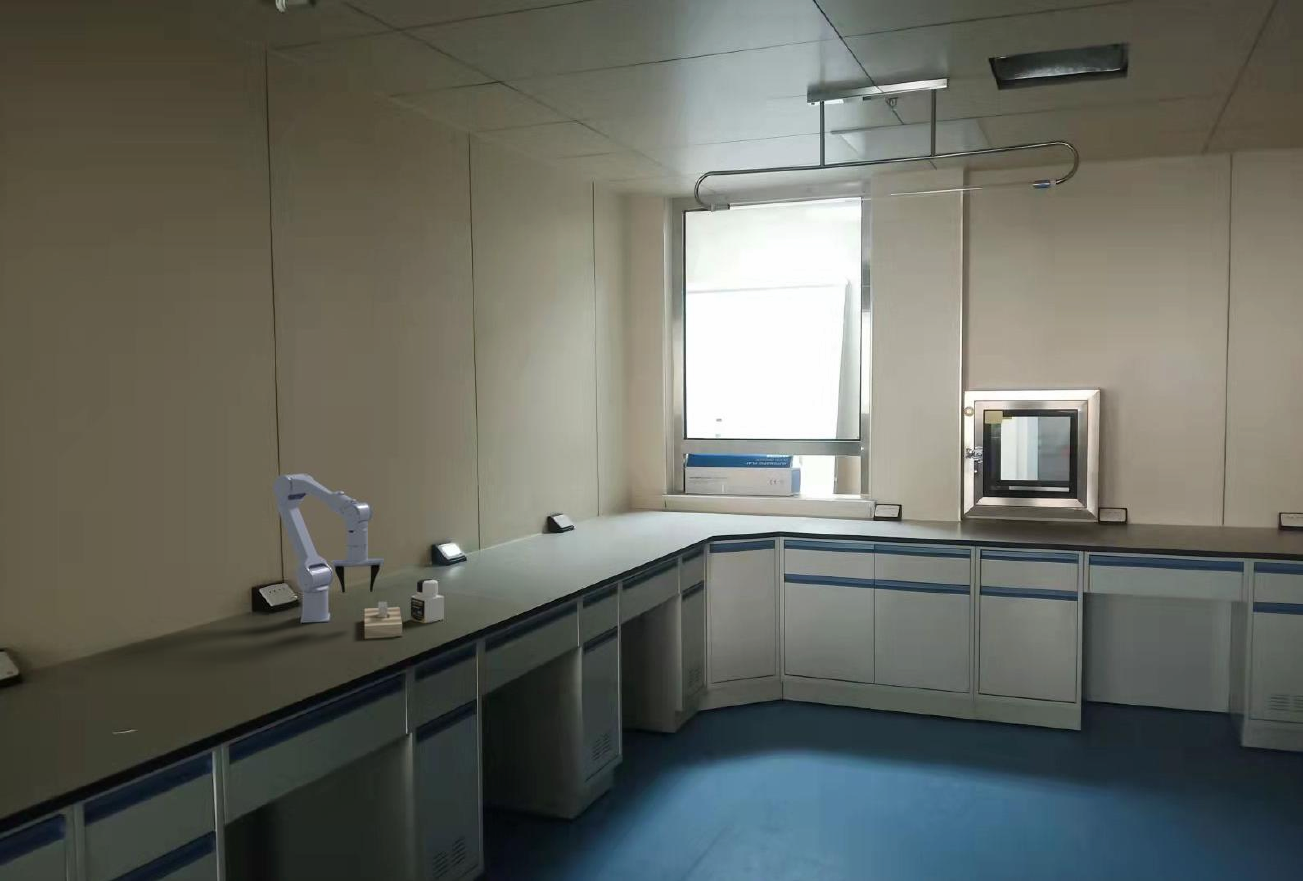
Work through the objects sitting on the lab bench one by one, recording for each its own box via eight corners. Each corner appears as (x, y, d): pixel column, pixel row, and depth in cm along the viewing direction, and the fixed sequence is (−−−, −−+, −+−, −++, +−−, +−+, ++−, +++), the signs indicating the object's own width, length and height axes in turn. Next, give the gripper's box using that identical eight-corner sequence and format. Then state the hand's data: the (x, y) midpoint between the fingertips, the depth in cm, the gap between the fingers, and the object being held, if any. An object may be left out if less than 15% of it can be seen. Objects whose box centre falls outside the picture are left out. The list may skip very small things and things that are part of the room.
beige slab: (364, 620, 298) (364, 608, 297) (399, 618, 300) (399, 607, 300) (364, 638, 276) (364, 625, 276) (402, 636, 279) (402, 623, 279)
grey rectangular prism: (378, 625, 291) (378, 601, 291) (386, 625, 292) (386, 601, 292) (378, 631, 285) (378, 606, 284) (387, 630, 285) (387, 606, 285)
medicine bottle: (410, 619, 299) (410, 579, 299) (430, 615, 305) (430, 576, 304) (424, 623, 295) (424, 583, 294) (444, 619, 300) (444, 580, 299)
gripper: (330, 547, 284) (330, 595, 285) (383, 546, 288) (383, 593, 289) (331, 543, 291) (331, 590, 292) (383, 542, 295) (383, 588, 296)
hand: (357, 591), depth 291 cm, fingers open, 7 cm apart
